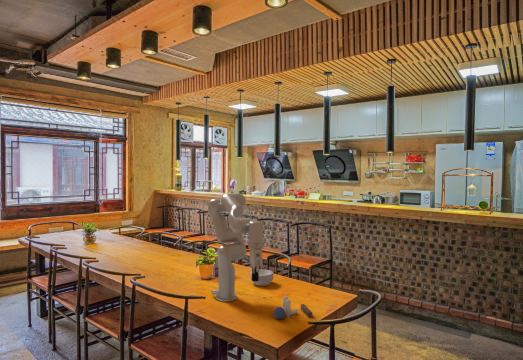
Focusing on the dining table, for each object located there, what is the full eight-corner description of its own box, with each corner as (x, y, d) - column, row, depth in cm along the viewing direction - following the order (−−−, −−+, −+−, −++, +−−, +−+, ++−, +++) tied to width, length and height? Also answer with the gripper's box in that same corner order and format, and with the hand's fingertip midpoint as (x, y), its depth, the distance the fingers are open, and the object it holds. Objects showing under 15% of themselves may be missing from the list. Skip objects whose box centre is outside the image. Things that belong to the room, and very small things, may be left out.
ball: (283, 321, 179) (271, 318, 179) (285, 310, 183) (274, 307, 183) (284, 319, 174) (273, 316, 174) (287, 307, 178) (275, 304, 178)
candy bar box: (222, 272, 259) (222, 250, 258) (226, 273, 255) (227, 251, 255) (210, 275, 250) (210, 252, 250) (215, 276, 247) (215, 253, 246)
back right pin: (285, 317, 180) (286, 301, 180) (285, 315, 183) (286, 299, 182) (290, 317, 180) (290, 301, 180) (290, 315, 182) (290, 299, 182)
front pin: (281, 310, 182) (297, 309, 184) (280, 310, 185) (295, 309, 187) (282, 315, 182) (297, 314, 184) (280, 315, 184) (296, 314, 186)
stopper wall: (308, 317, 180) (308, 312, 180) (300, 308, 192) (300, 304, 192) (312, 317, 181) (312, 312, 181) (304, 308, 193) (304, 303, 192)
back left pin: (282, 313, 185) (283, 297, 185) (283, 311, 188) (283, 295, 187) (287, 313, 185) (287, 297, 185) (287, 312, 187) (287, 296, 187)
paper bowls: (253, 279, 242) (253, 268, 242) (274, 281, 239) (275, 269, 239) (248, 286, 228) (248, 274, 227) (271, 288, 224) (271, 276, 224)
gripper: (266, 248, 172) (265, 285, 173) (259, 242, 187) (258, 276, 187) (251, 248, 170) (251, 286, 171) (245, 242, 185) (245, 276, 185)
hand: (255, 280), depth 179 cm, fingers closed
